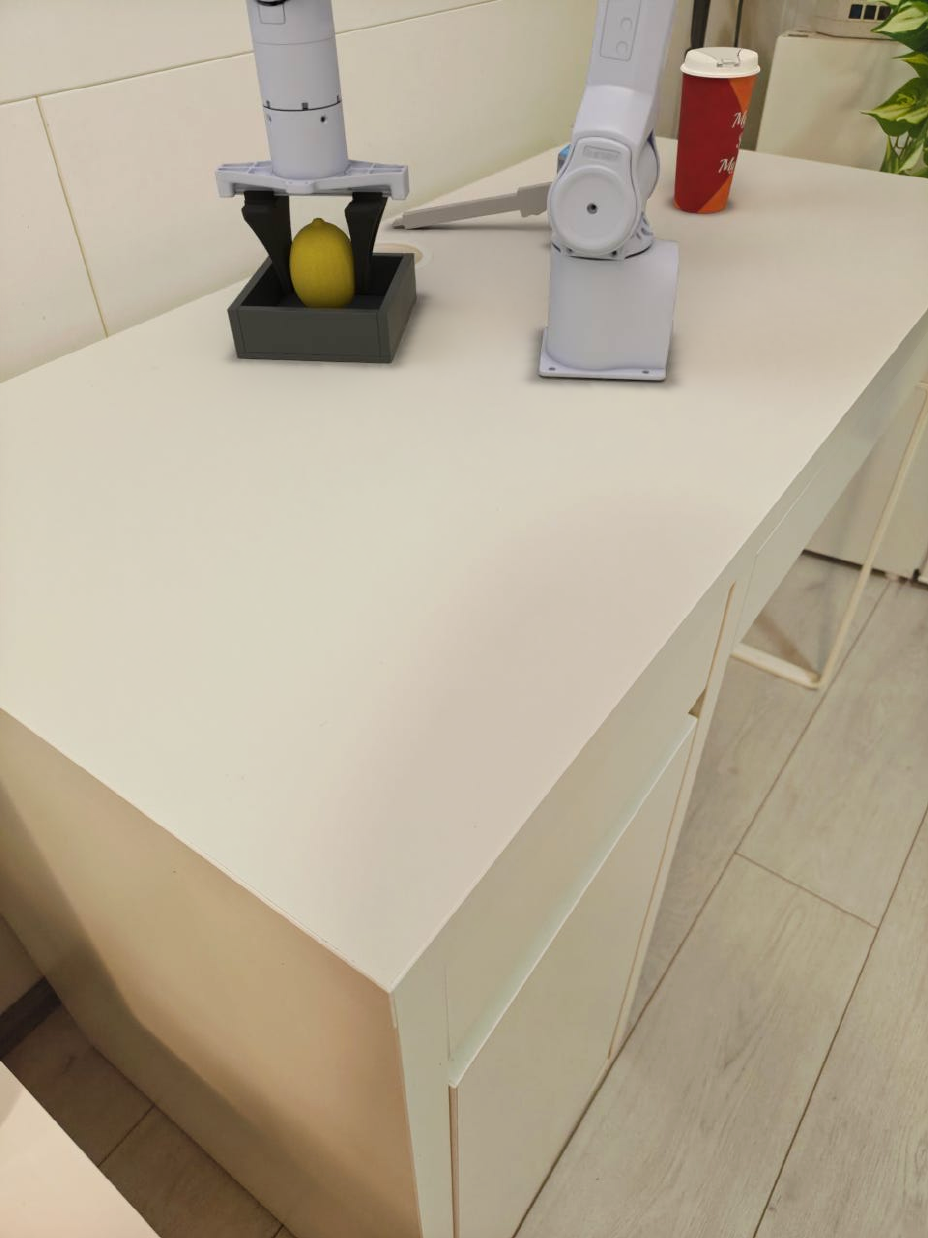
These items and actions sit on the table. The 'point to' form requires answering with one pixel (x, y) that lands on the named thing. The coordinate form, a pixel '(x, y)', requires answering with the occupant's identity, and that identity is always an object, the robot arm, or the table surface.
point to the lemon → (322, 266)
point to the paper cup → (711, 124)
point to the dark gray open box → (325, 317)
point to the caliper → (481, 207)
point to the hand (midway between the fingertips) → (326, 288)
